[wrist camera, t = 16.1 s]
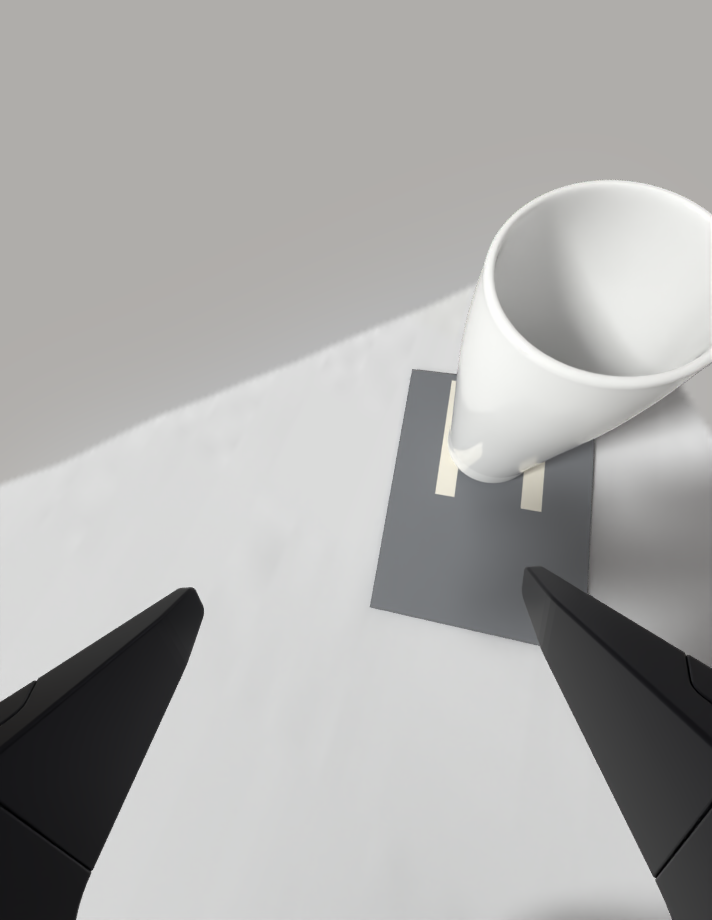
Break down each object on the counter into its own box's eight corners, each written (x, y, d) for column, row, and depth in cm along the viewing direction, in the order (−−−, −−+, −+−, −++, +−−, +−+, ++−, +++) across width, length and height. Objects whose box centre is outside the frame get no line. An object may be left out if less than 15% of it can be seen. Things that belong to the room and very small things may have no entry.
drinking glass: (493, 519, 23) (647, 444, 9) (413, 446, 25) (429, 284, 10) (566, 443, 24) (819, 258, 9) (482, 378, 26) (587, 138, 11)
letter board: (582, 654, 21) (584, 656, 21) (370, 606, 23) (369, 607, 22) (594, 393, 25) (596, 391, 24) (412, 371, 27) (412, 368, 26)
